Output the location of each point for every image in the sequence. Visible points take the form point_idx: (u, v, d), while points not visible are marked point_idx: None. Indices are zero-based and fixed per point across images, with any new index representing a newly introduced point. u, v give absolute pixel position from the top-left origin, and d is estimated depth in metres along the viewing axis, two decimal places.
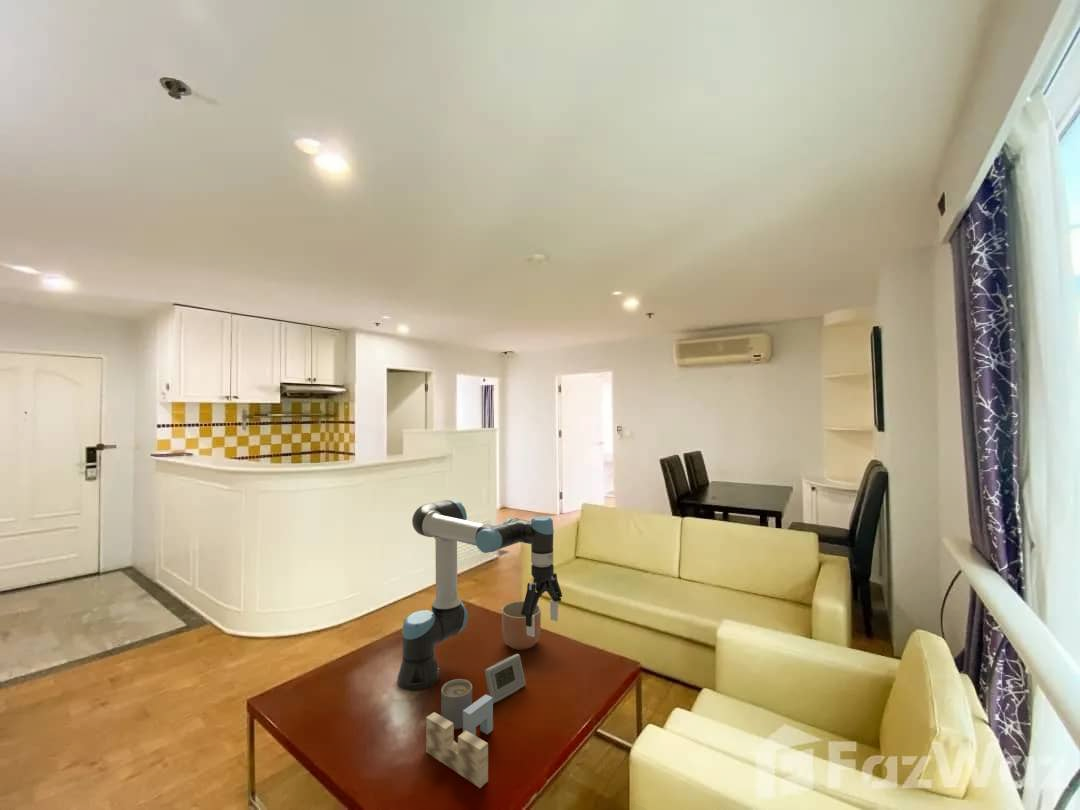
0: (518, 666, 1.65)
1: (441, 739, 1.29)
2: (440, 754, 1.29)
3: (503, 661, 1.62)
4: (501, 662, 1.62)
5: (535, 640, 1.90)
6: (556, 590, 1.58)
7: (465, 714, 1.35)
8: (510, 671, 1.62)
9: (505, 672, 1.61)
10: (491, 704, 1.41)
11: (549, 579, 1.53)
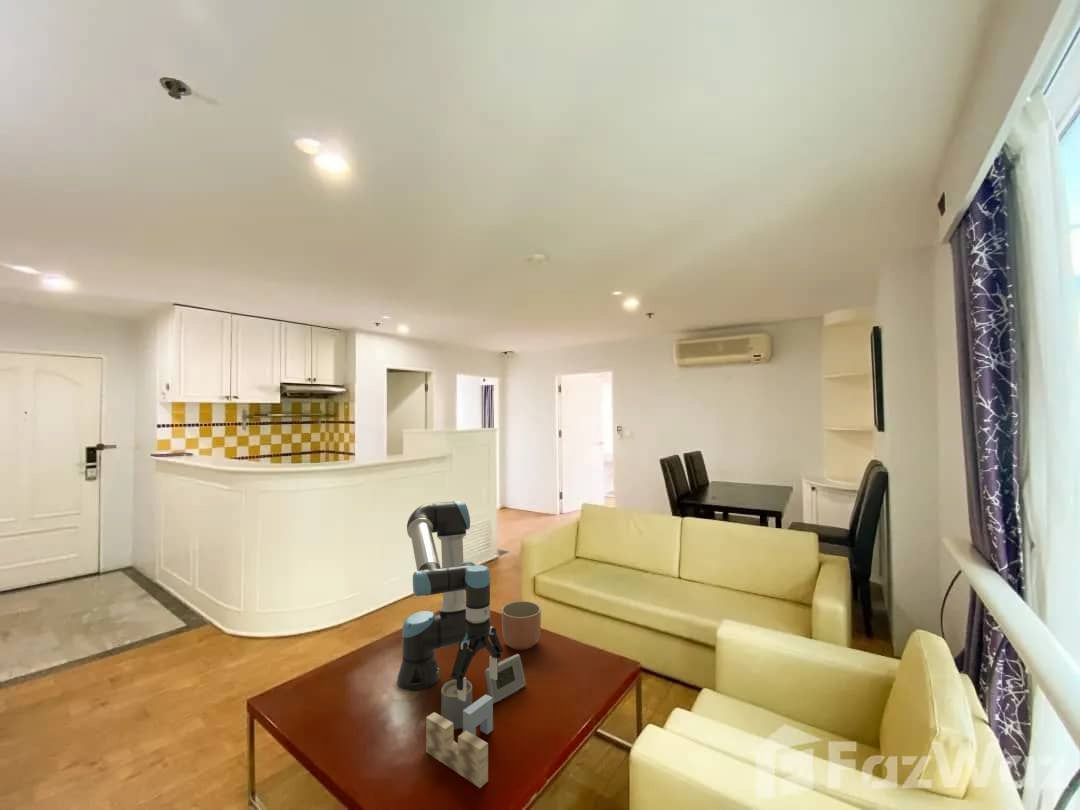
0: (518, 666, 1.65)
1: (441, 739, 1.29)
2: (440, 754, 1.29)
3: (503, 661, 1.62)
4: (501, 662, 1.61)
5: (535, 640, 1.90)
6: (496, 645, 1.45)
7: (465, 714, 1.35)
8: (510, 671, 1.62)
9: (505, 673, 1.61)
10: (491, 704, 1.41)
11: (486, 635, 1.41)
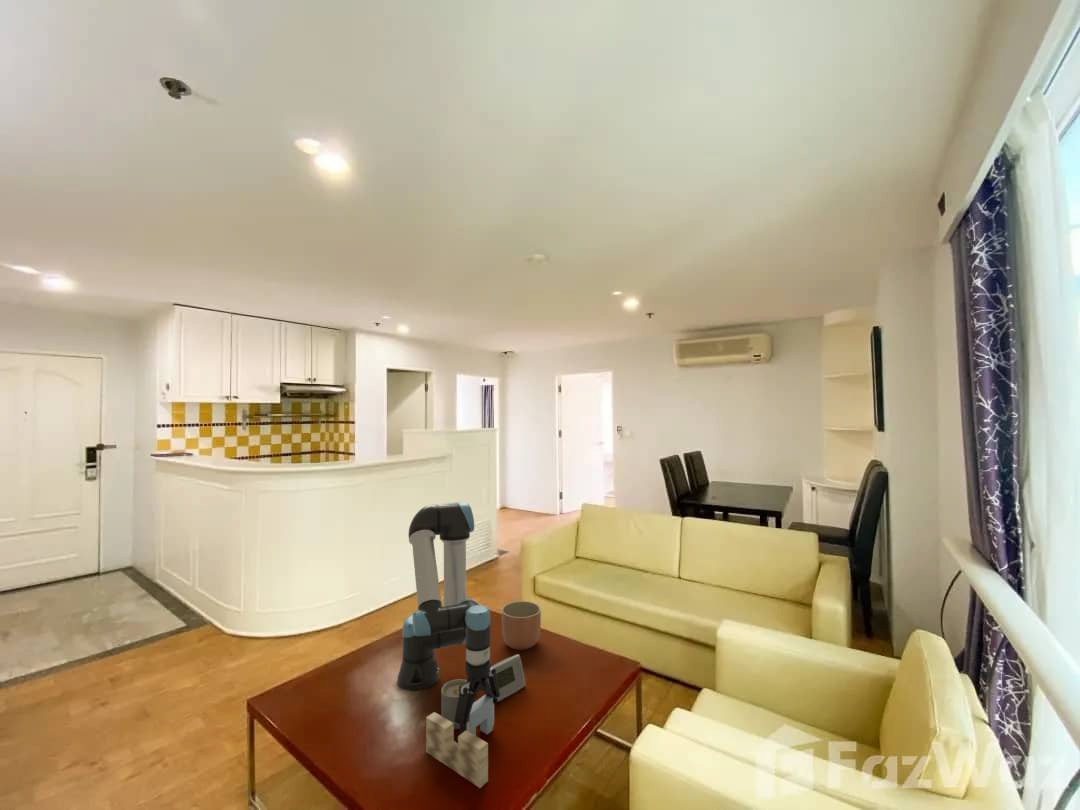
0: (518, 667, 1.64)
1: (441, 739, 1.29)
2: (440, 754, 1.29)
3: (503, 661, 1.62)
4: (501, 662, 1.61)
5: (535, 640, 1.90)
6: (493, 688, 1.44)
7: None
8: (510, 672, 1.62)
9: (505, 673, 1.60)
10: (491, 704, 1.41)
11: (486, 675, 1.40)
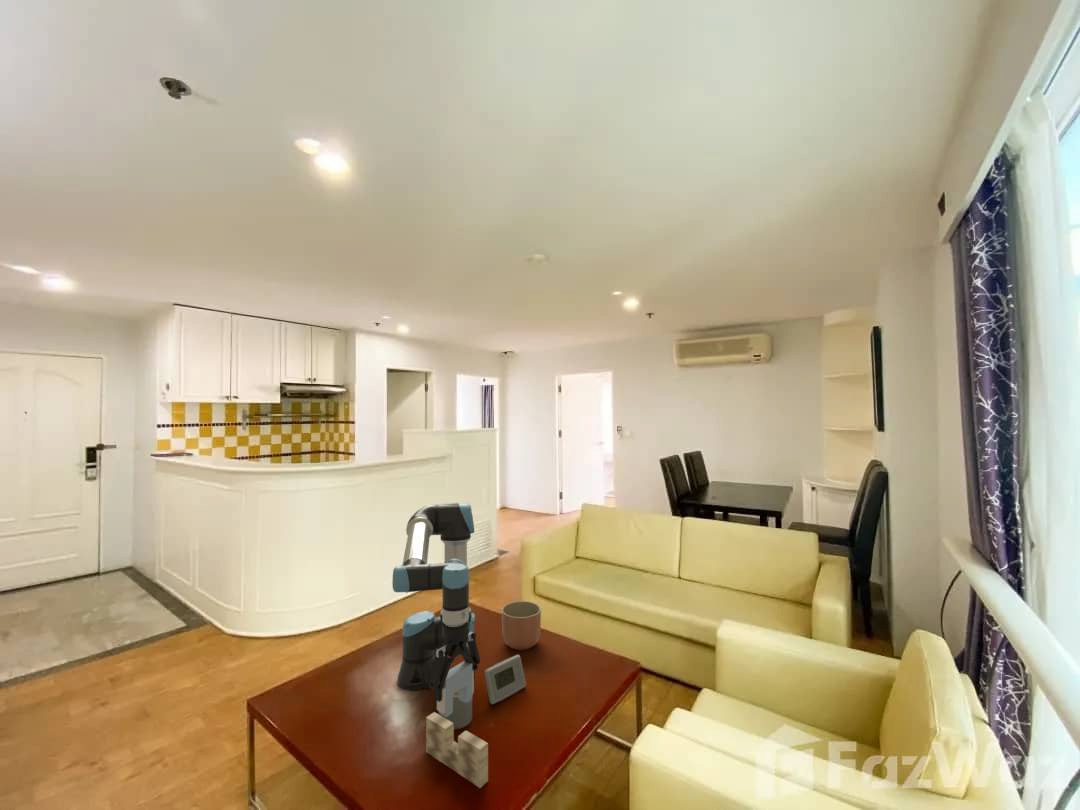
0: (518, 667, 1.64)
1: (441, 739, 1.29)
2: (440, 754, 1.29)
3: (503, 662, 1.62)
4: (501, 663, 1.61)
5: (535, 640, 1.90)
6: (473, 654, 1.33)
7: None
8: (510, 672, 1.61)
9: (505, 673, 1.60)
10: (470, 671, 1.30)
11: (465, 639, 1.29)
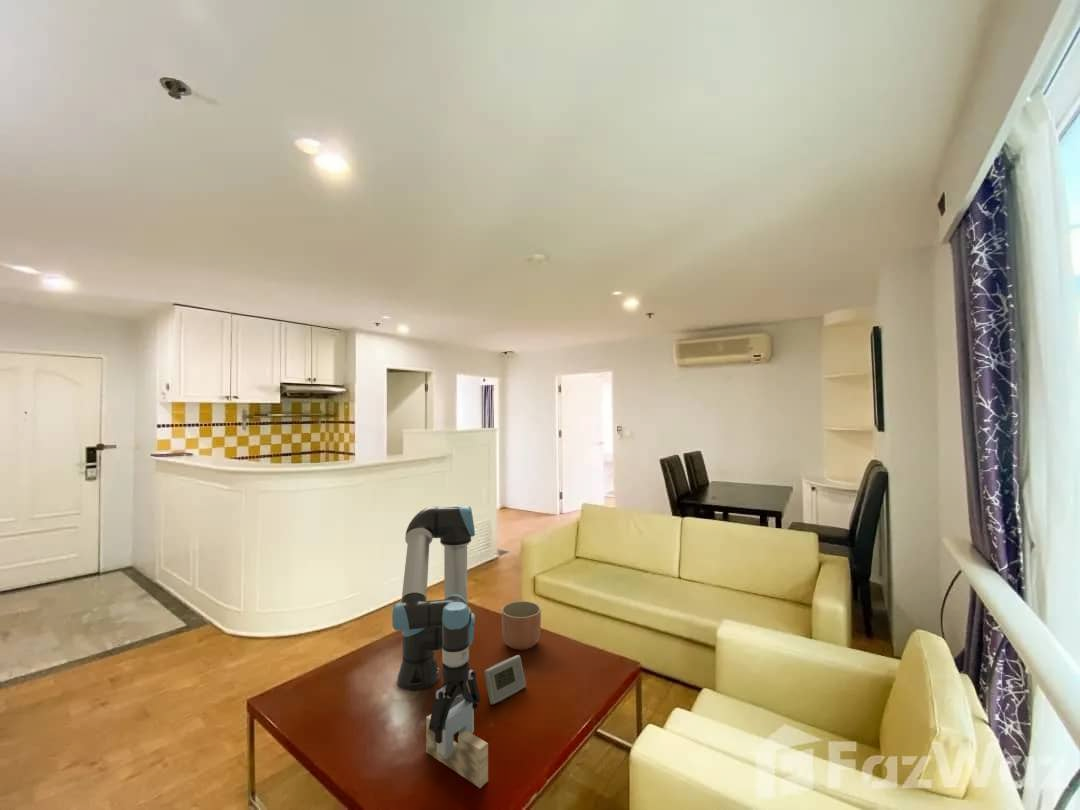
0: (518, 667, 1.64)
1: None
2: None
3: (503, 662, 1.62)
4: (501, 663, 1.61)
5: (535, 640, 1.90)
6: (473, 693, 1.33)
7: None
8: (510, 672, 1.61)
9: (505, 674, 1.60)
10: (470, 710, 1.30)
11: (464, 678, 1.29)
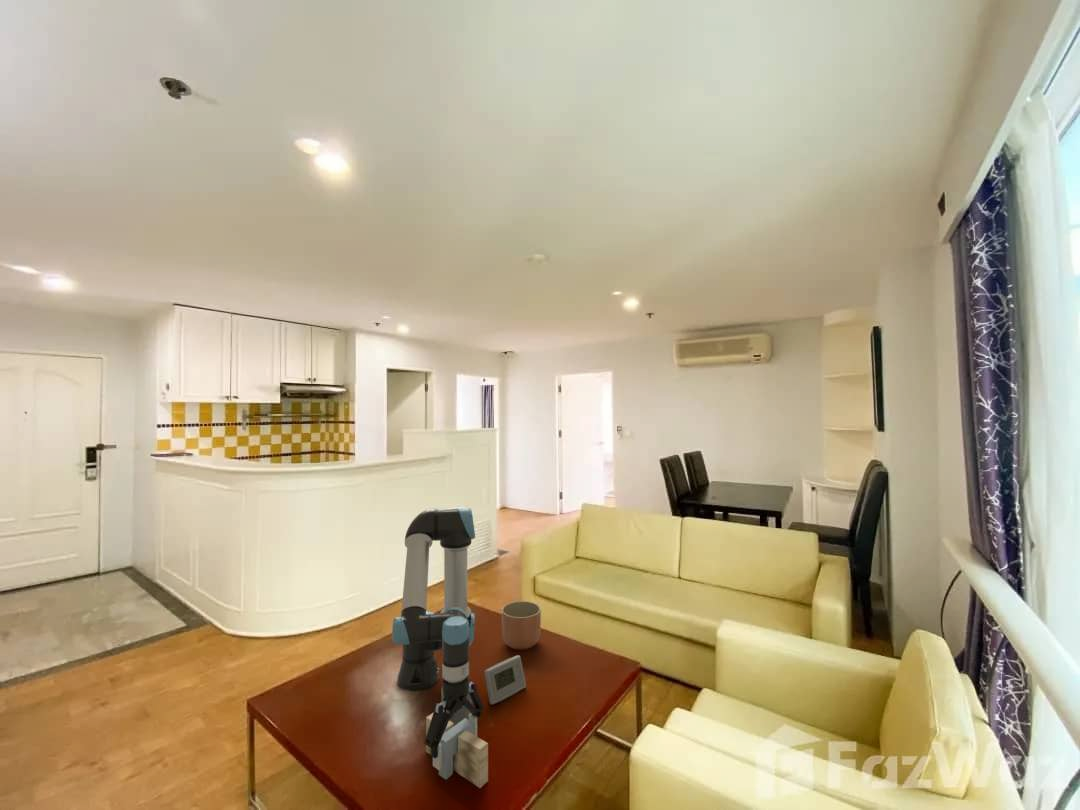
0: (518, 668, 1.64)
1: None
2: None
3: (503, 662, 1.61)
4: (501, 663, 1.61)
5: (535, 640, 1.90)
6: (476, 702, 1.34)
7: (441, 741, 1.24)
8: (510, 672, 1.61)
9: (505, 674, 1.60)
10: (470, 729, 1.30)
11: (464, 693, 1.29)
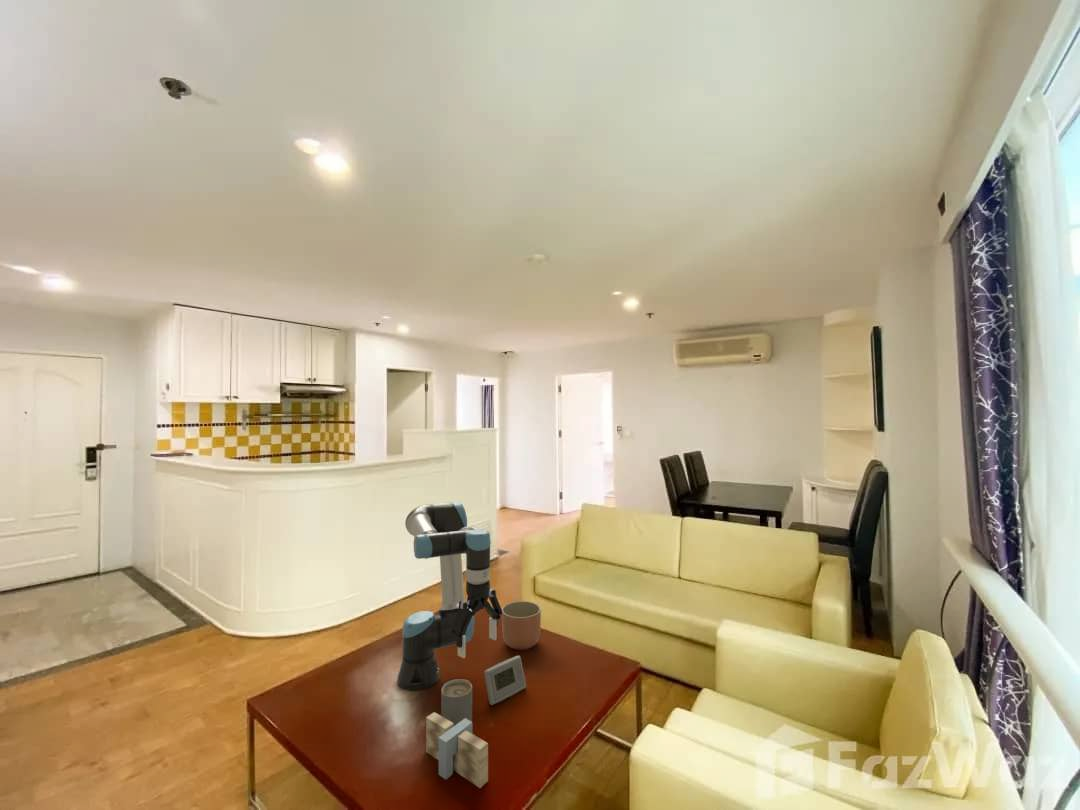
0: (518, 668, 1.63)
1: None
2: None
3: (503, 662, 1.61)
4: (501, 663, 1.61)
5: (535, 640, 1.90)
6: (495, 607, 1.49)
7: (441, 741, 1.24)
8: (510, 673, 1.61)
9: (505, 674, 1.60)
10: (470, 729, 1.30)
11: (486, 596, 1.44)
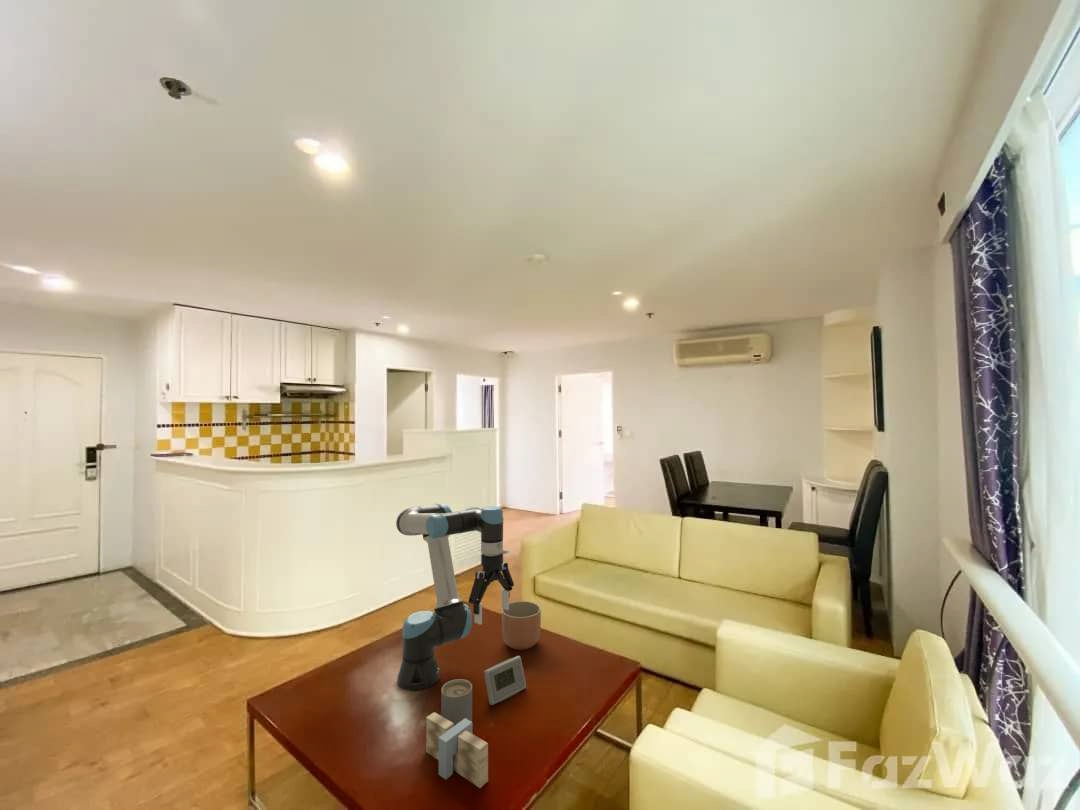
0: (519, 668, 1.63)
1: None
2: None
3: (503, 663, 1.61)
4: (501, 664, 1.60)
5: (535, 640, 1.90)
6: (507, 579, 1.60)
7: (441, 741, 1.24)
8: (510, 673, 1.61)
9: (505, 674, 1.60)
10: (470, 729, 1.30)
11: (499, 568, 1.55)
